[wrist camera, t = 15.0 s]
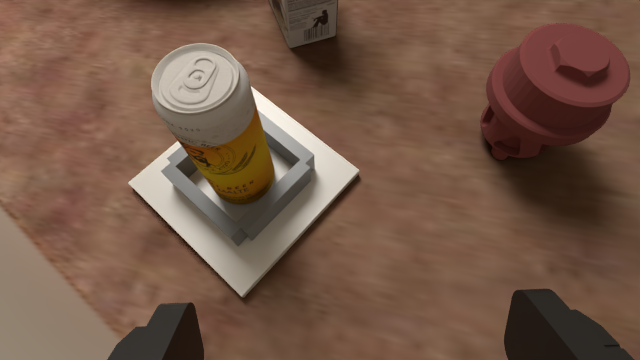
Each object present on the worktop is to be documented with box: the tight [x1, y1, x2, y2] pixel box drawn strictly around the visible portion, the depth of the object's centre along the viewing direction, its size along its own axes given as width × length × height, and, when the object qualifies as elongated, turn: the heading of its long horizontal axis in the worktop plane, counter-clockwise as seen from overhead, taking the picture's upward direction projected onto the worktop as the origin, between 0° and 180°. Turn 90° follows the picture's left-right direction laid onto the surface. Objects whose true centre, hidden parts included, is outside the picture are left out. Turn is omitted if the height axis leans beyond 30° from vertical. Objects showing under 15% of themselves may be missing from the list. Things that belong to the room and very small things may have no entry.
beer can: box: [151, 43, 275, 205], centre depth 29 cm, size 6×6×15 cm
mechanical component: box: [480, 23, 630, 160], centre depth 33 cm, size 12×10×10 cm
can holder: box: [128, 87, 359, 298], centre depth 35 cm, size 16×16×4 cm
